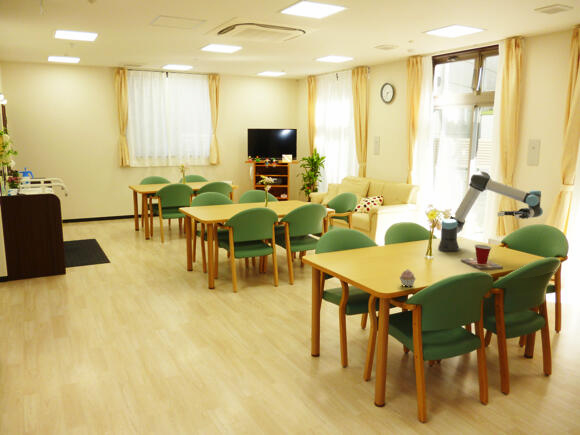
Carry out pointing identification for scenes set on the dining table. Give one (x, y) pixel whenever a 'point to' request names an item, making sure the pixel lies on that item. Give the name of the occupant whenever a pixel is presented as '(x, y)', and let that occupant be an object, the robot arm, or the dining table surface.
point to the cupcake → (407, 278)
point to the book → (481, 266)
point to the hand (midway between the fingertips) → (506, 215)
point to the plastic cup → (482, 253)
